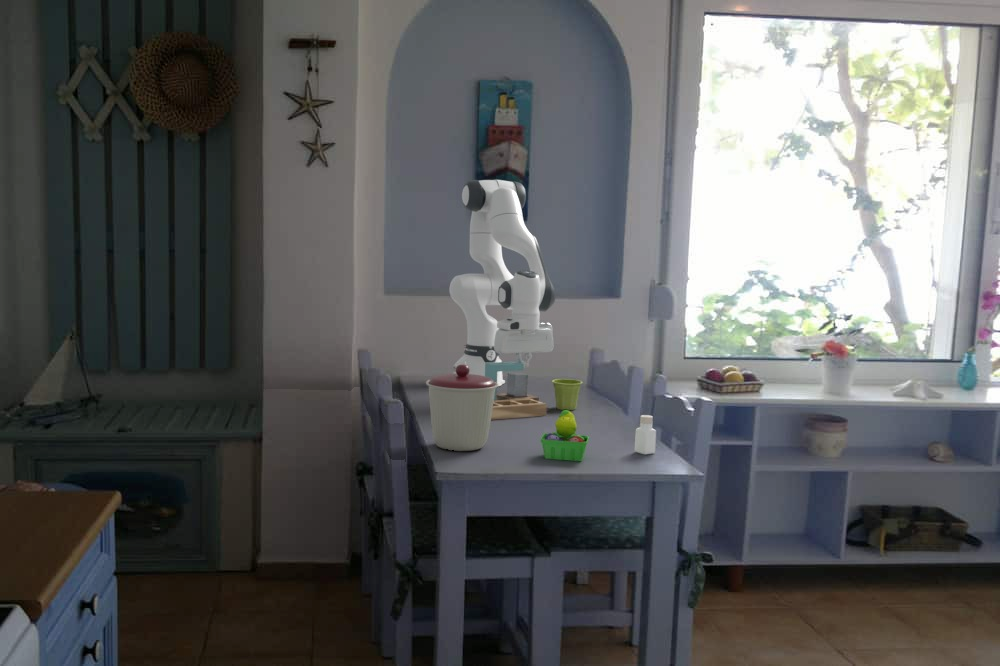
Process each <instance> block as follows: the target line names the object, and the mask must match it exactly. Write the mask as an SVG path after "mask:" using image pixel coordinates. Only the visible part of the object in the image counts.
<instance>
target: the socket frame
mask: <svg viewBox="0 0 1000 666" xmlns="http://www.w3.org/2000/svg"><path fill="white" fill-rule="evenodd" d="M524 398H530V399H533V400H536V401H539V402H540V398H539V397H537V396H534V395H532V394H528V393H527V397H521V398H513V397H509V396H507V392H505V393H497V394H496V400H509V399H524Z"/></svg>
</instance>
